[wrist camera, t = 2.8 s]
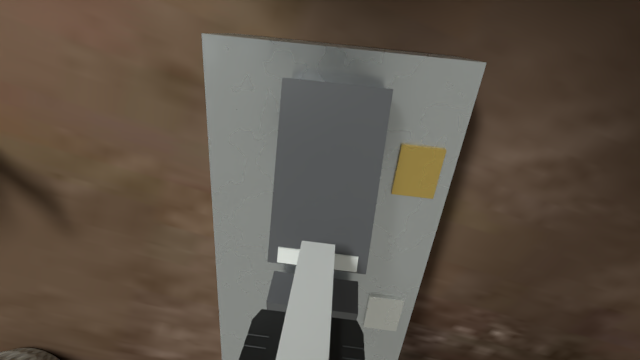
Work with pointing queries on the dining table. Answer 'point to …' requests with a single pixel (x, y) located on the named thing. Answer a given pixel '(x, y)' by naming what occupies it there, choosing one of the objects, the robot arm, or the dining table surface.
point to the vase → (26, 354)
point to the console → (395, 181)
